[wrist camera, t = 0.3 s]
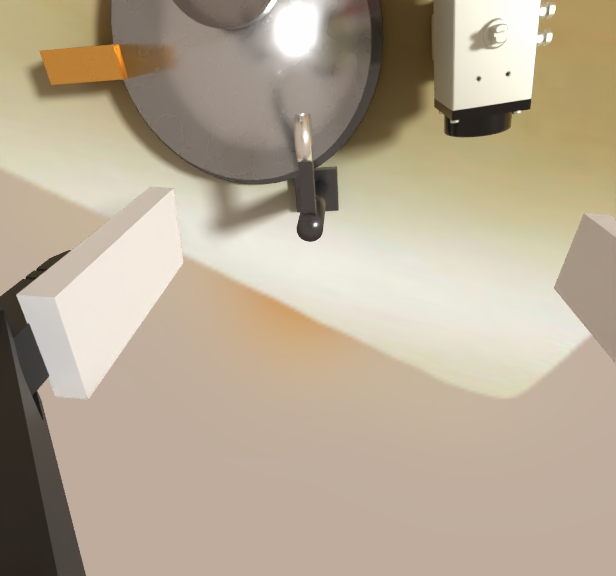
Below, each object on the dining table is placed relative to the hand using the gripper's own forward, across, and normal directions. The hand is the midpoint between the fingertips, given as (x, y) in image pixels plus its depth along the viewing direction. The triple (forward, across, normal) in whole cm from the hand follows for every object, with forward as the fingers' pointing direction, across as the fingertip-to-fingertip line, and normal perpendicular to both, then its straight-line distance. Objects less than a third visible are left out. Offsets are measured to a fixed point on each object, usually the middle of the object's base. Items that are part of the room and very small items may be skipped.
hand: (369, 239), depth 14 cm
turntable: (+26, -12, +4) cm, 29 cm away
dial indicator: (+27, -3, -4) cm, 27 cm away
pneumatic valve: (+27, +8, +6) cm, 29 cm away
